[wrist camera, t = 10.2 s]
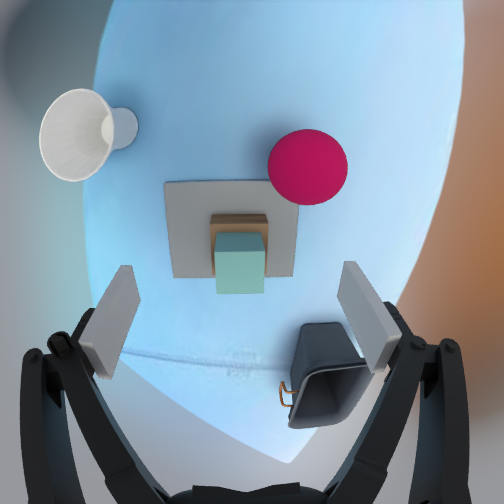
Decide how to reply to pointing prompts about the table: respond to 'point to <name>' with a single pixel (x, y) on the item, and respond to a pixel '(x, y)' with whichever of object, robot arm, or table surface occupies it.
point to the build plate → (226, 202)
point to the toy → (307, 167)
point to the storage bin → (325, 377)
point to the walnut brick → (238, 229)
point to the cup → (83, 134)
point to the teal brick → (239, 262)
